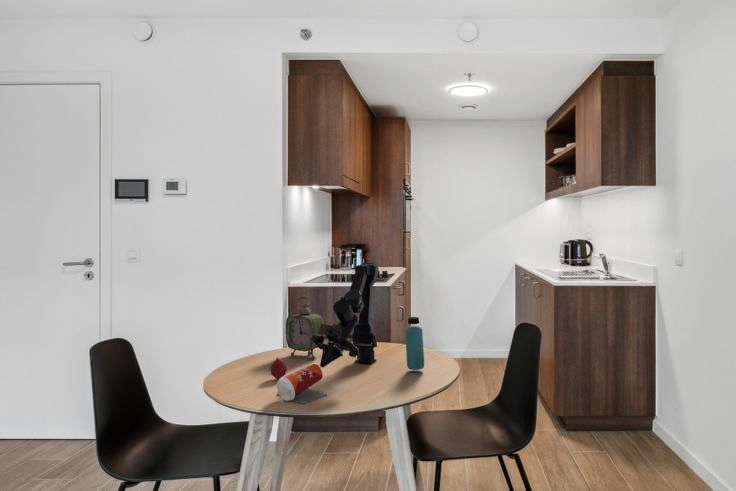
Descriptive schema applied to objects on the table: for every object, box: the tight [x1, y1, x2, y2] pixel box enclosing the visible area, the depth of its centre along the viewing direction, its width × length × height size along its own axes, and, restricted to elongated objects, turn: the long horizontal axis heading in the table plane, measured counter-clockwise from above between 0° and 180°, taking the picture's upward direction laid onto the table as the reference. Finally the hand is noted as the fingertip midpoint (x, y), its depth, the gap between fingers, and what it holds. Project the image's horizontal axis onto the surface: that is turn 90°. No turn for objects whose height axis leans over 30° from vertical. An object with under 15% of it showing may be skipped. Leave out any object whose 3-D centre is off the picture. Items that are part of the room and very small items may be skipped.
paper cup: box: [276, 363, 324, 402], centre depth 149 cm, size 8×8×14 cm
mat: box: [276, 387, 328, 405], centre depth 150 cm, size 13×10×1 cm
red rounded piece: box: [269, 356, 288, 381], centre depth 166 cm, size 6×6×8 cm
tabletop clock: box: [285, 296, 325, 360], centre depth 195 cm, size 14×9×25 cm, turn 58°
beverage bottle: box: [405, 316, 425, 371], centre depth 171 cm, size 6×7×20 cm
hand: (321, 366), depth 155 cm, fingers closed
